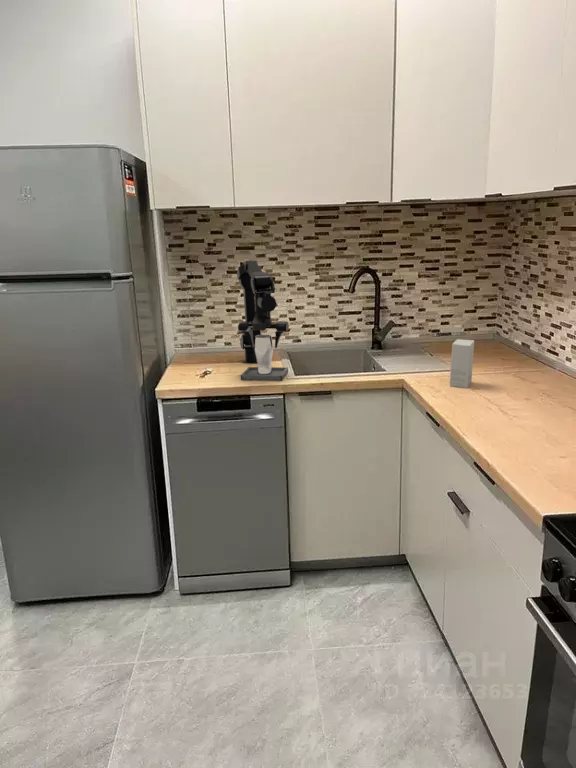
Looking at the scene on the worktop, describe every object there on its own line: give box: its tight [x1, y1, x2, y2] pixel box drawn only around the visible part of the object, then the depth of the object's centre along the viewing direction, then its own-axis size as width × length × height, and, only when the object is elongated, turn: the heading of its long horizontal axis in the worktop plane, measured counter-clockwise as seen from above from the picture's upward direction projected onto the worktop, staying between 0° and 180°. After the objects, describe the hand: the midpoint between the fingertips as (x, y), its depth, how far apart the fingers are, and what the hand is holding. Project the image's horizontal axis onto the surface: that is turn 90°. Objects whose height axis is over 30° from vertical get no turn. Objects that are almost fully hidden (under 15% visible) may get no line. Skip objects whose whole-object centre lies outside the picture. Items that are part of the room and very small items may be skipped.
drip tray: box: [240, 366, 289, 382], centre depth 229 cm, size 13×16×2 cm
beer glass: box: [255, 334, 274, 375], centre depth 227 cm, size 7×7×15 cm
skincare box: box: [449, 338, 475, 389], centre depth 207 cm, size 8×7×16 cm
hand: (264, 348), depth 227 cm, fingers open, 9 cm apart
